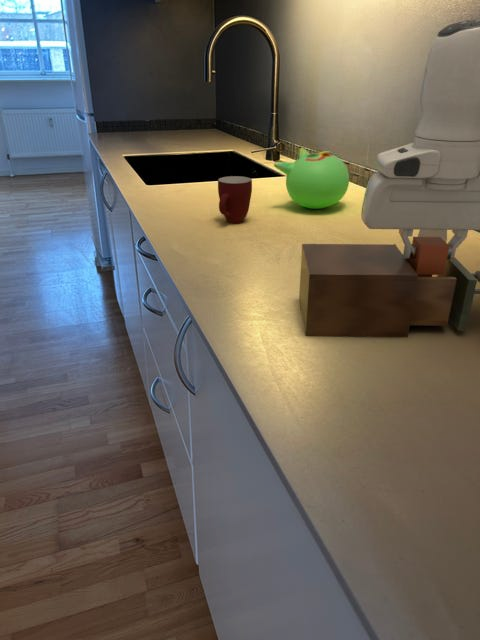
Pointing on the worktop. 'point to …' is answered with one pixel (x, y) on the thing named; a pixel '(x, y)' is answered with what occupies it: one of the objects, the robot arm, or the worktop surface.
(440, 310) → the drawer
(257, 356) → the worktop surface
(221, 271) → the worktop surface
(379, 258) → the cabinet
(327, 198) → the toy bird
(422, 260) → the block
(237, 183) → the mug
